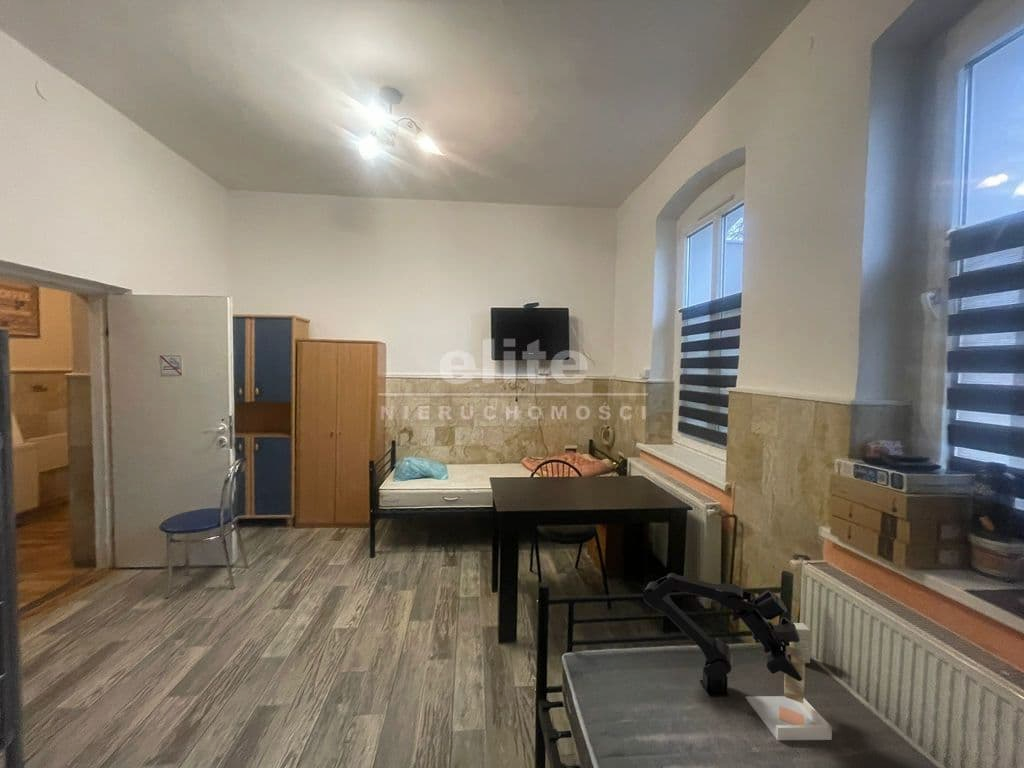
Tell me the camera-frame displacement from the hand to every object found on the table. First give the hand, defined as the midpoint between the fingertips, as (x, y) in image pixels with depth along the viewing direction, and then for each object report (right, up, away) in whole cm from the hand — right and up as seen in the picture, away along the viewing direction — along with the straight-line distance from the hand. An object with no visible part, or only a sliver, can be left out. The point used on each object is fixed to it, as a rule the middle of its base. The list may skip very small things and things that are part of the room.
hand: (800, 675), depth 123 cm
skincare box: (+18, -13, +27) cm, 35 cm away
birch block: (-1, -7, +1) cm, 7 cm away
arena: (-3, -13, +1) cm, 14 cm away
